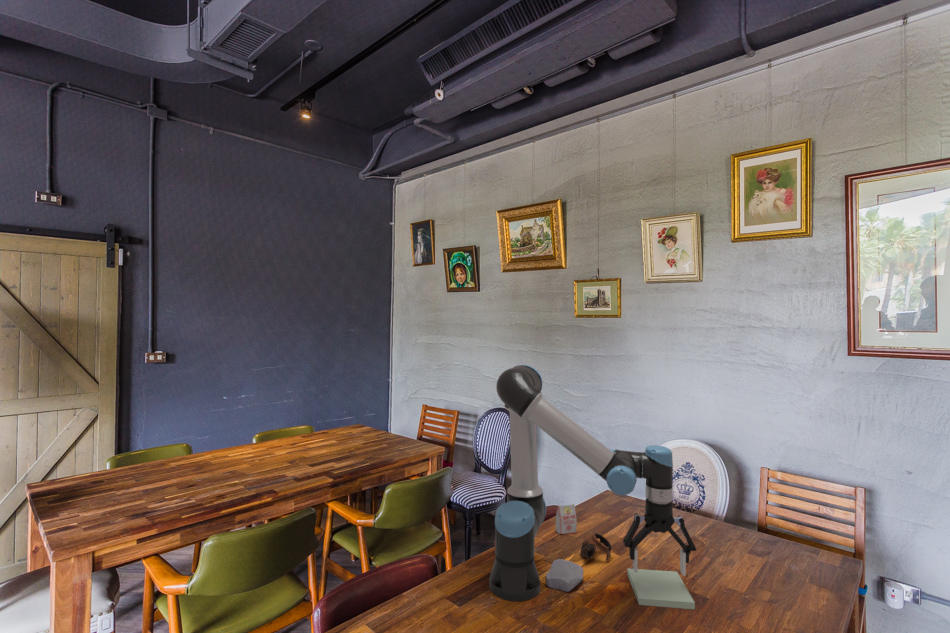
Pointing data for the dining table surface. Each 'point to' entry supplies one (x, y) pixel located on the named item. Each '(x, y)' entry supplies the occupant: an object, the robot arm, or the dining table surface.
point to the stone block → (564, 575)
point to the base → (660, 589)
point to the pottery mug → (592, 541)
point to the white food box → (566, 519)
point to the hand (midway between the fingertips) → (658, 571)
